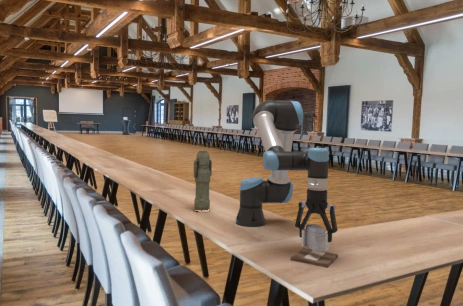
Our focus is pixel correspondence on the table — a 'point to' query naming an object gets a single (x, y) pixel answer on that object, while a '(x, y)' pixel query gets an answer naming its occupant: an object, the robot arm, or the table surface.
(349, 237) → the table surface
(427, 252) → the table surface
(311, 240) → the medicine box
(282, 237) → the table surface
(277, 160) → the robot arm
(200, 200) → the green robed figurine
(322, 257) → the pad
